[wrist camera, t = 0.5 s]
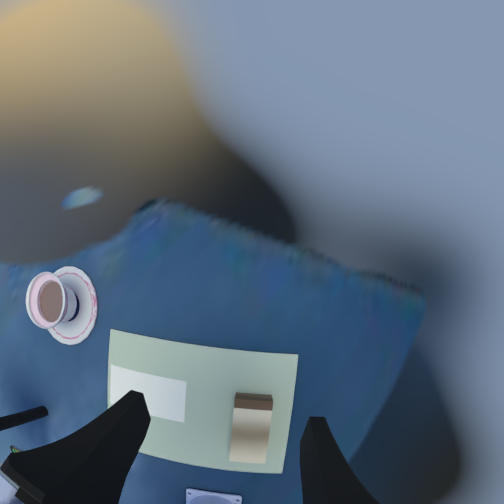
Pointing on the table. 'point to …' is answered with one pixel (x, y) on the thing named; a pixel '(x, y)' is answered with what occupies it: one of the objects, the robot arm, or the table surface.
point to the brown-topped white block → (250, 427)
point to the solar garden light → (22, 417)
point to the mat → (200, 397)
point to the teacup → (63, 304)
